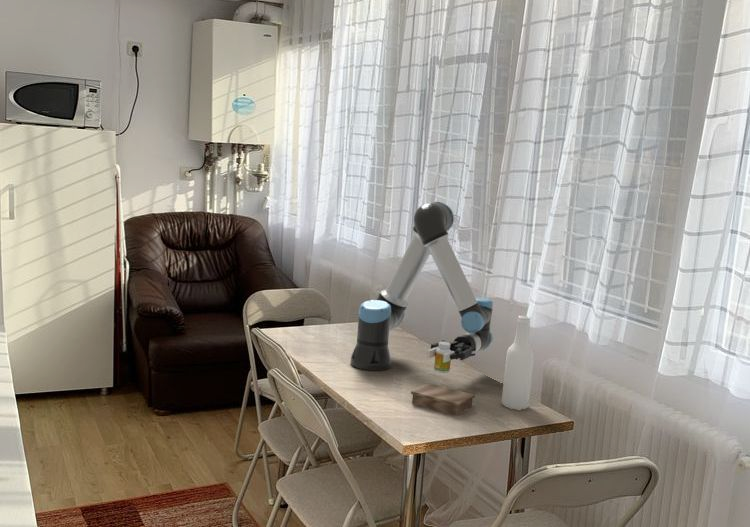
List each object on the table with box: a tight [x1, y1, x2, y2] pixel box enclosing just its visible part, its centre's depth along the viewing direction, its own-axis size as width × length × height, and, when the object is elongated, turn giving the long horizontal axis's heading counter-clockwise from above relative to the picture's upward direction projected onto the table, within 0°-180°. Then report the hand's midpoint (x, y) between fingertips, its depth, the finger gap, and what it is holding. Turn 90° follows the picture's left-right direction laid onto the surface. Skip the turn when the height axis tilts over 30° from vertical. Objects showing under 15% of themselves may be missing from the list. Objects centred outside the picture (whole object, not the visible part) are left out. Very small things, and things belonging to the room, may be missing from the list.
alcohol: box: [501, 314, 535, 410], centre depth 255 cm, size 9×9×30 cm
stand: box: [410, 382, 476, 416], centre depth 252 cm, size 17×12×4 cm
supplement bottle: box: [433, 341, 452, 374], centre depth 268 cm, size 5×5×10 cm
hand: (436, 356), depth 264 cm, fingers closed on supplement bottle, 5 cm apart
